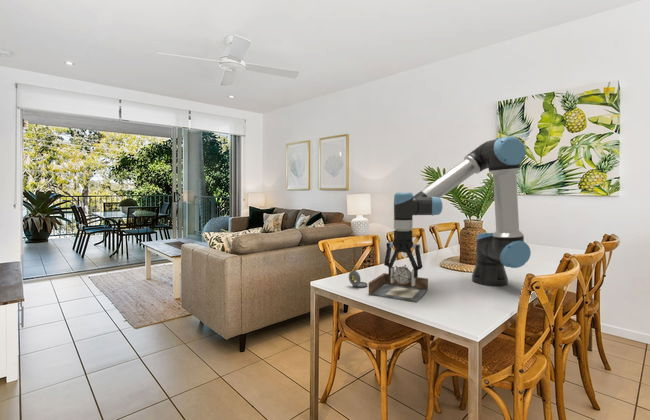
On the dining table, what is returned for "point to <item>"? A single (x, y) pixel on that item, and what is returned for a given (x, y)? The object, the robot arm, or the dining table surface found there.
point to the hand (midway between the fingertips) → (402, 283)
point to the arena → (398, 288)
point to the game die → (402, 275)
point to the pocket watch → (357, 278)
